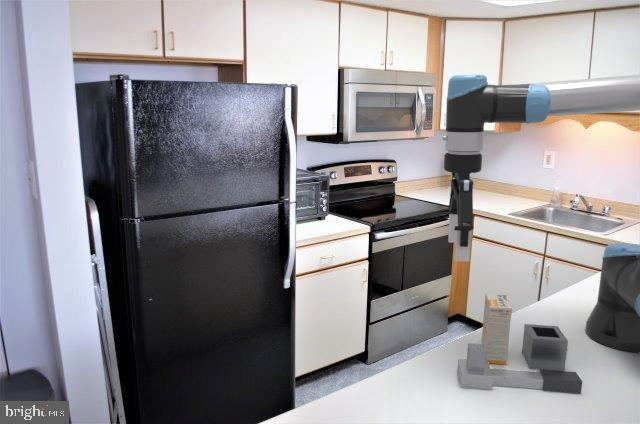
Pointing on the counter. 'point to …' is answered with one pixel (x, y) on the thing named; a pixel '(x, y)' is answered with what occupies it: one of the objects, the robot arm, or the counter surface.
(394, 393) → the counter surface
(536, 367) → the hollow square tube
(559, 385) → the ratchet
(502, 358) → the supplement box
